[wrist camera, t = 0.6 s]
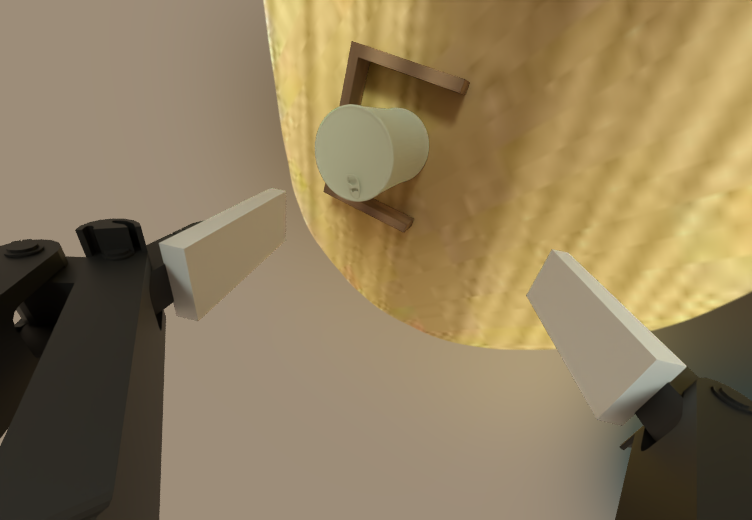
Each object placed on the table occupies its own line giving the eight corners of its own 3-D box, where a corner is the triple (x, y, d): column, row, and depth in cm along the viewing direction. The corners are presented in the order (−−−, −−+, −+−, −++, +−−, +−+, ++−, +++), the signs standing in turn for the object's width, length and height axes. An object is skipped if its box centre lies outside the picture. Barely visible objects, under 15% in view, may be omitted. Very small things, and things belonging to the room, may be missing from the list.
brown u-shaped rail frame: (334, 187, 43) (323, 191, 41) (364, 46, 33) (351, 41, 31) (411, 225, 40) (403, 232, 38) (469, 82, 30) (464, 79, 27)
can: (369, 183, 40) (320, 203, 31) (361, 113, 37) (302, 110, 27) (430, 181, 36) (395, 204, 27) (428, 102, 32) (387, 95, 23)
